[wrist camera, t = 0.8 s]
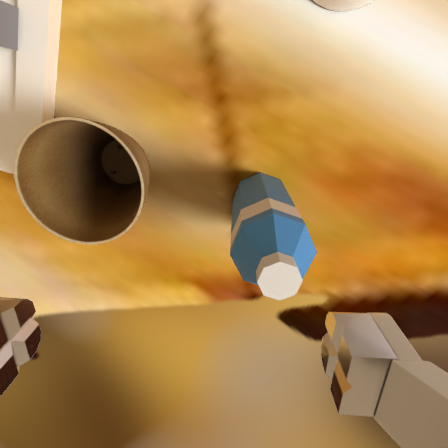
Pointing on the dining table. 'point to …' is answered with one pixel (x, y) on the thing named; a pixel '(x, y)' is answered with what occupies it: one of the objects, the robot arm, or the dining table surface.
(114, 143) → the plant pot
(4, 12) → the switch knob
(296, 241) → the water bottle
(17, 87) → the switch plate
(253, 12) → the dining table surface
